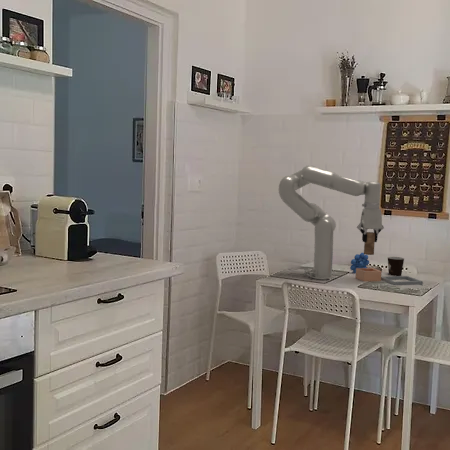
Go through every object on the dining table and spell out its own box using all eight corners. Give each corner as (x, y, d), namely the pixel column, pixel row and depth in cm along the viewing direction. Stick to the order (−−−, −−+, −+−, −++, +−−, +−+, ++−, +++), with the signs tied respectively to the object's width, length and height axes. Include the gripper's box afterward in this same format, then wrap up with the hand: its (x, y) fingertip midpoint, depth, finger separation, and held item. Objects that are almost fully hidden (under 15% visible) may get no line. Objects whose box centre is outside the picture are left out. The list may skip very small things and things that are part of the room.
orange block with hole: (363, 283, 313) (364, 271, 313) (355, 279, 322) (356, 268, 322) (380, 282, 316) (381, 271, 315) (372, 279, 325) (372, 267, 324)
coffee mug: (403, 278, 329) (404, 259, 328) (387, 277, 331) (388, 258, 330) (402, 274, 341) (403, 256, 340) (385, 273, 342) (386, 255, 341)
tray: (393, 287, 306) (393, 282, 306) (379, 281, 319) (379, 276, 319) (422, 286, 310) (422, 281, 310) (407, 280, 323) (407, 275, 323)
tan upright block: (366, 254, 314) (368, 233, 313) (362, 253, 319) (363, 232, 318) (375, 254, 316) (377, 233, 314) (370, 253, 320) (372, 232, 319)
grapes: (363, 272, 343) (365, 251, 342) (371, 274, 337) (372, 252, 336) (345, 273, 339) (346, 251, 338) (352, 275, 333) (353, 253, 332)
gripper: (359, 206, 309) (357, 243, 311) (390, 207, 313) (388, 242, 315) (353, 205, 316) (350, 240, 318) (383, 205, 320) (381, 240, 322)
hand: (369, 241), depth 317 cm, fingers closed on tan upright block, 4 cm apart
